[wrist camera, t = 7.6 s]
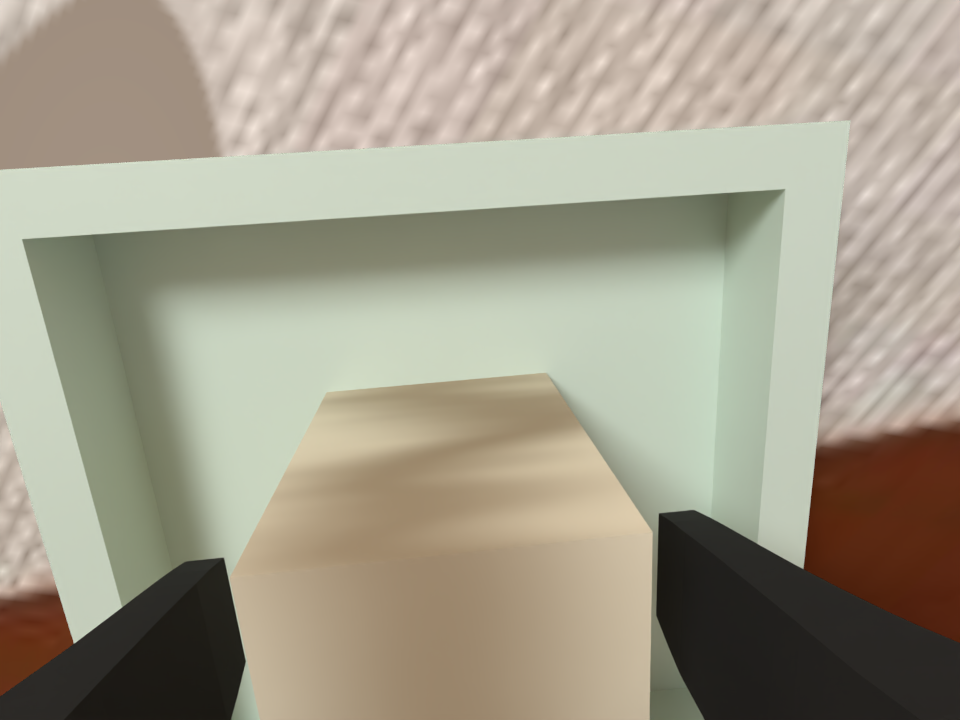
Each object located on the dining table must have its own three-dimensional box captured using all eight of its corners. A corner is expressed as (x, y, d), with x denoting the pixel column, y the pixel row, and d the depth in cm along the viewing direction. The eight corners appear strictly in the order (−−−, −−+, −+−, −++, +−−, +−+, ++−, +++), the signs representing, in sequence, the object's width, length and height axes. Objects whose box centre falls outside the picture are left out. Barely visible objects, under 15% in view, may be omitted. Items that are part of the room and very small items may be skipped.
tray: (764, 136, 12) (850, 120, 9) (726, 693, 16) (780, 783, 13) (40, 179, 11) (-70, 173, 8) (189, 759, 15) (142, 868, 12)
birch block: (546, 373, 12) (652, 532, 6) (553, 560, 13) (647, 837, 8) (327, 392, 12) (230, 577, 6) (354, 582, 13) (295, 887, 7)
